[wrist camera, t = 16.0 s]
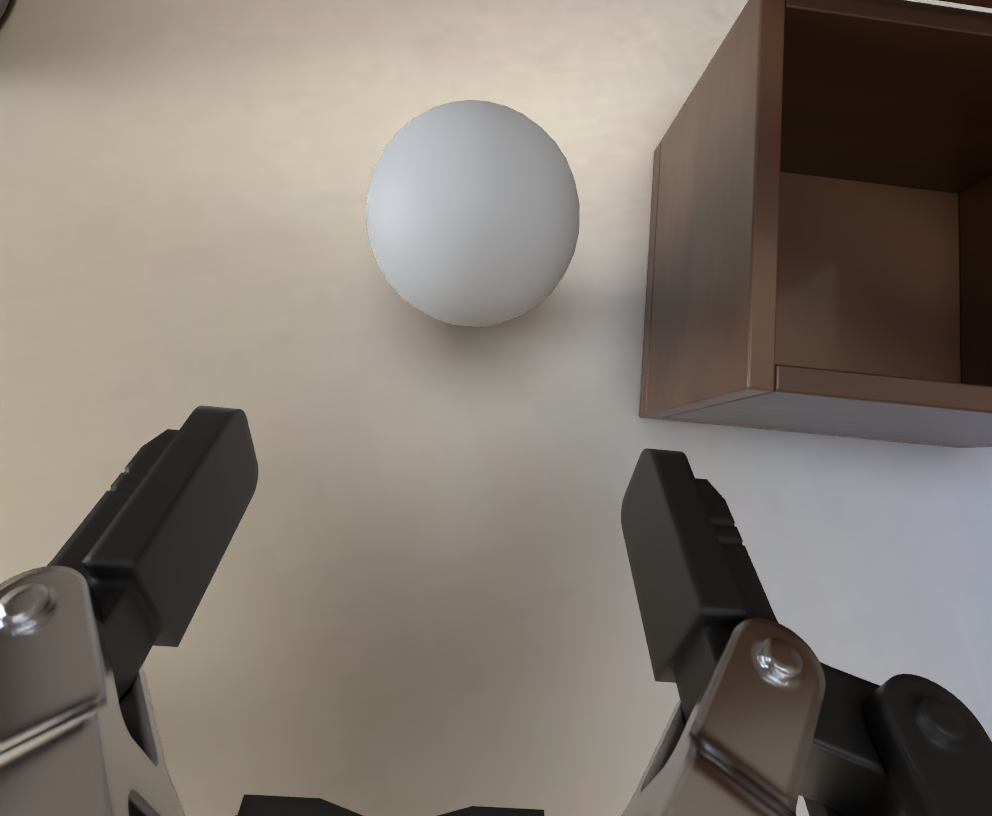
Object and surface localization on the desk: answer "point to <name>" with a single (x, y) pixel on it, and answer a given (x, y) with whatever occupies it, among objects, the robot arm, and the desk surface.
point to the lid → (973, 2)
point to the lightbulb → (472, 213)
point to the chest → (829, 228)
